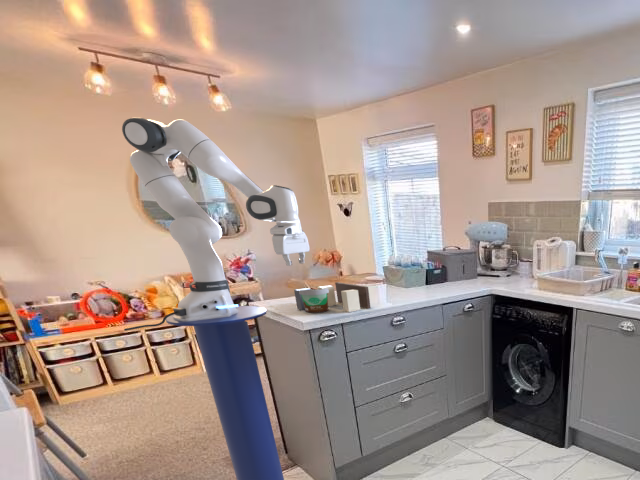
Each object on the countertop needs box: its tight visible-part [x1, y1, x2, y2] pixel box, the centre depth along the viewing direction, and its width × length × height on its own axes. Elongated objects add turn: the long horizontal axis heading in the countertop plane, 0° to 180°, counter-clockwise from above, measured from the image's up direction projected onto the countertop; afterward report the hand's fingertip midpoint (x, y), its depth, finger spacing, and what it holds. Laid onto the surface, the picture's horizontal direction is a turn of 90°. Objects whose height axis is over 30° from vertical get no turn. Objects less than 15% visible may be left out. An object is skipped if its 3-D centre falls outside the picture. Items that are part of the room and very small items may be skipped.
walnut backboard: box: [334, 281, 371, 310], centre depth 198 cm, size 2×24×10 cm, turn 54°
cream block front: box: [341, 289, 361, 313], centre depth 187 cm, size 6×4×9 cm, turn 144°
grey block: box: [293, 287, 312, 311], centre depth 189 cm, size 6×4×9 cm, turn 144°
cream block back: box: [316, 285, 337, 307], centre depth 197 cm, size 6×4×9 cm, turn 144°
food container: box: [299, 288, 329, 314], centre depth 184 cm, size 12×6×10 cm, turn 122°
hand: (295, 264), depth 174 cm, fingers open, 8 cm apart
